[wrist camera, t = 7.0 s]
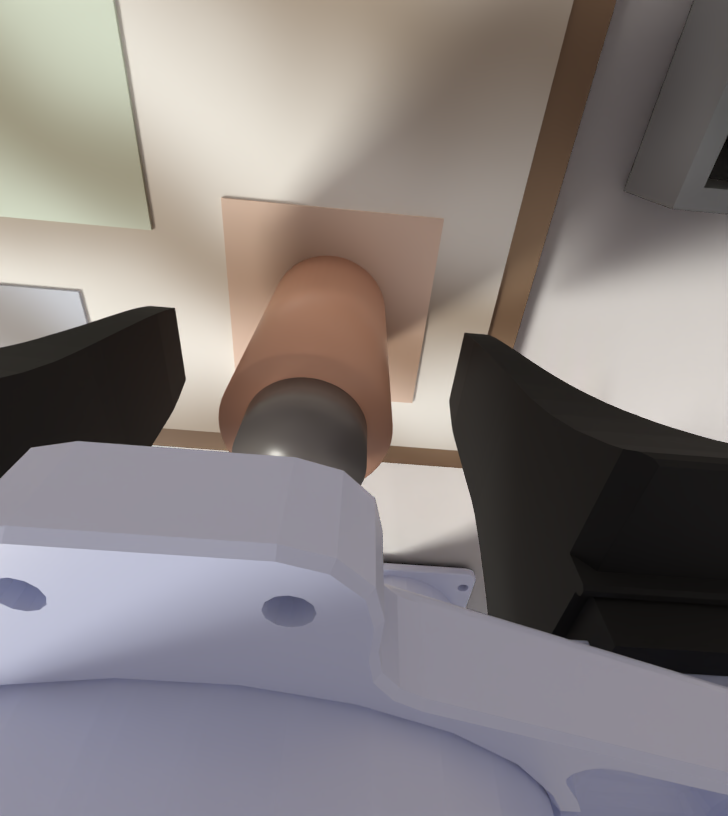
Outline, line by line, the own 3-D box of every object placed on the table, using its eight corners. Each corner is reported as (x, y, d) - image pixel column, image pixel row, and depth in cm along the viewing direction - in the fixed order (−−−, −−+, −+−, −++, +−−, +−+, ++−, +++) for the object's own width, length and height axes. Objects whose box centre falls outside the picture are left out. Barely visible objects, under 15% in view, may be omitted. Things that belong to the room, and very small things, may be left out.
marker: (381, 363, 15) (387, 532, 9) (276, 359, 15) (216, 525, 9) (388, 258, 13) (403, 386, 7) (269, 252, 13) (187, 377, 7)
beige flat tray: (474, 459, 18) (478, 474, 18) (-69, 418, 18) (-88, 432, 17) (626, -70, 10) (646, -83, 9) (-399, -192, 9) (-466, -217, 8)
